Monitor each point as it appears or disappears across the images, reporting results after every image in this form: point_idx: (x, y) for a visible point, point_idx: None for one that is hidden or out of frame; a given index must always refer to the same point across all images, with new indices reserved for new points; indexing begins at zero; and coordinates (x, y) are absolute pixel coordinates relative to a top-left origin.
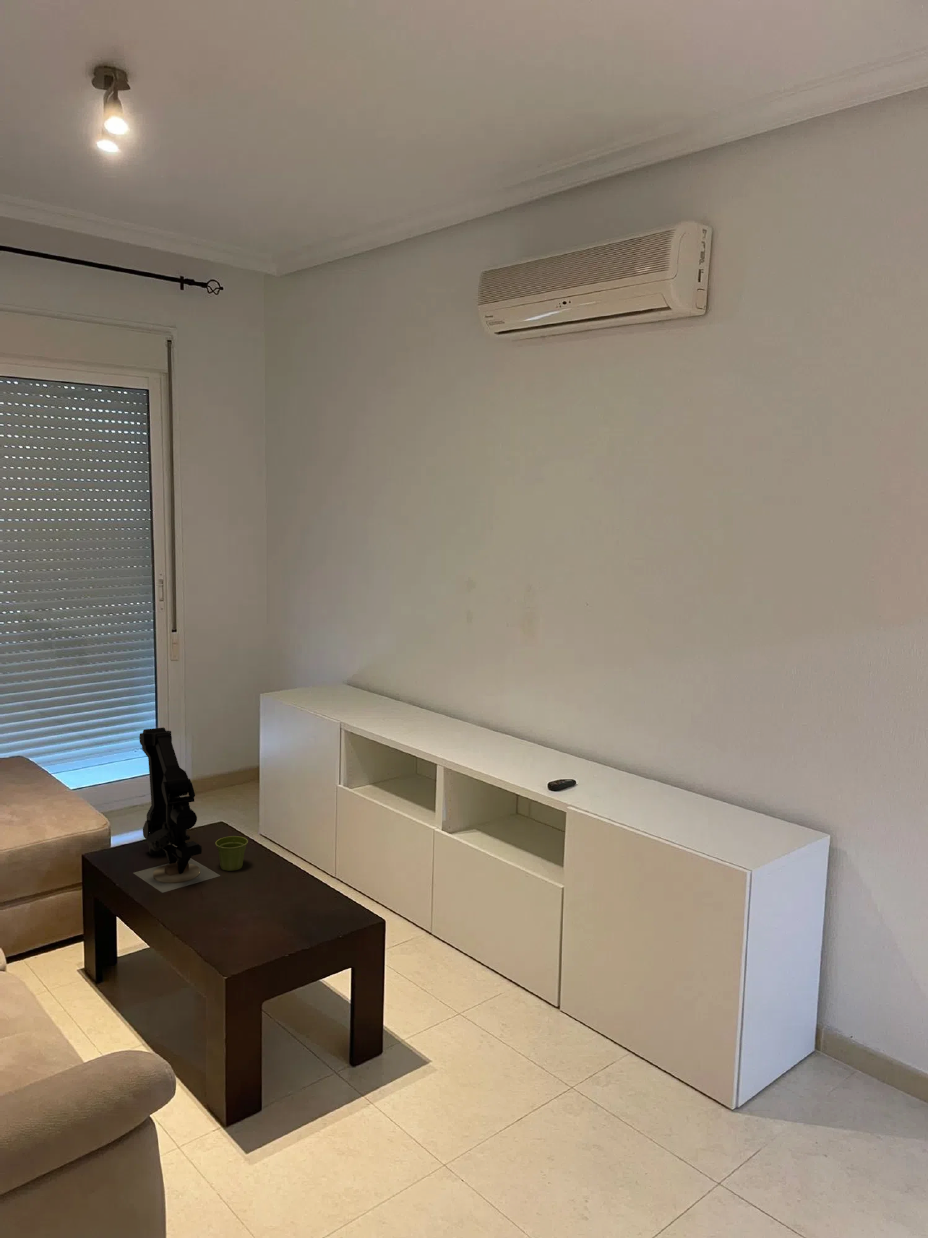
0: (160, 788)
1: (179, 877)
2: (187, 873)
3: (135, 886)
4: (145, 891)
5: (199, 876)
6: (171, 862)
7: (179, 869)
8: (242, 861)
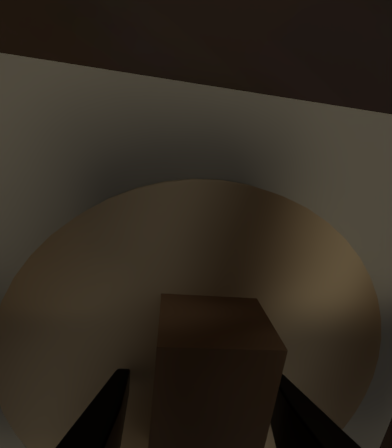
0: None
1: (60, 334)
2: None
3: (302, 16)
4: (135, 7)
5: None
6: (298, 435)
7: (85, 411)
8: None
